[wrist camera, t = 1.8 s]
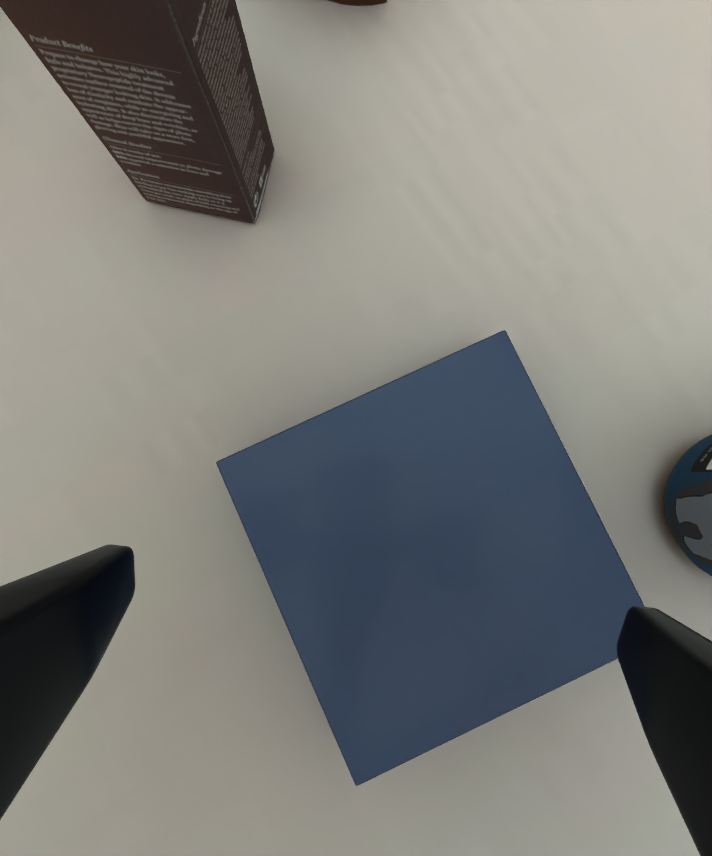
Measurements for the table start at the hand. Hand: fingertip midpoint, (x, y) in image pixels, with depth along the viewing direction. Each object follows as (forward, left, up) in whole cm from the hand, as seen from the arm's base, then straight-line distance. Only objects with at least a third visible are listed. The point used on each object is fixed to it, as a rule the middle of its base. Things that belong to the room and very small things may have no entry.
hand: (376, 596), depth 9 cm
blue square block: (-2, -2, -14) cm, 14 cm away
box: (+19, 0, -14) cm, 24 cm away
